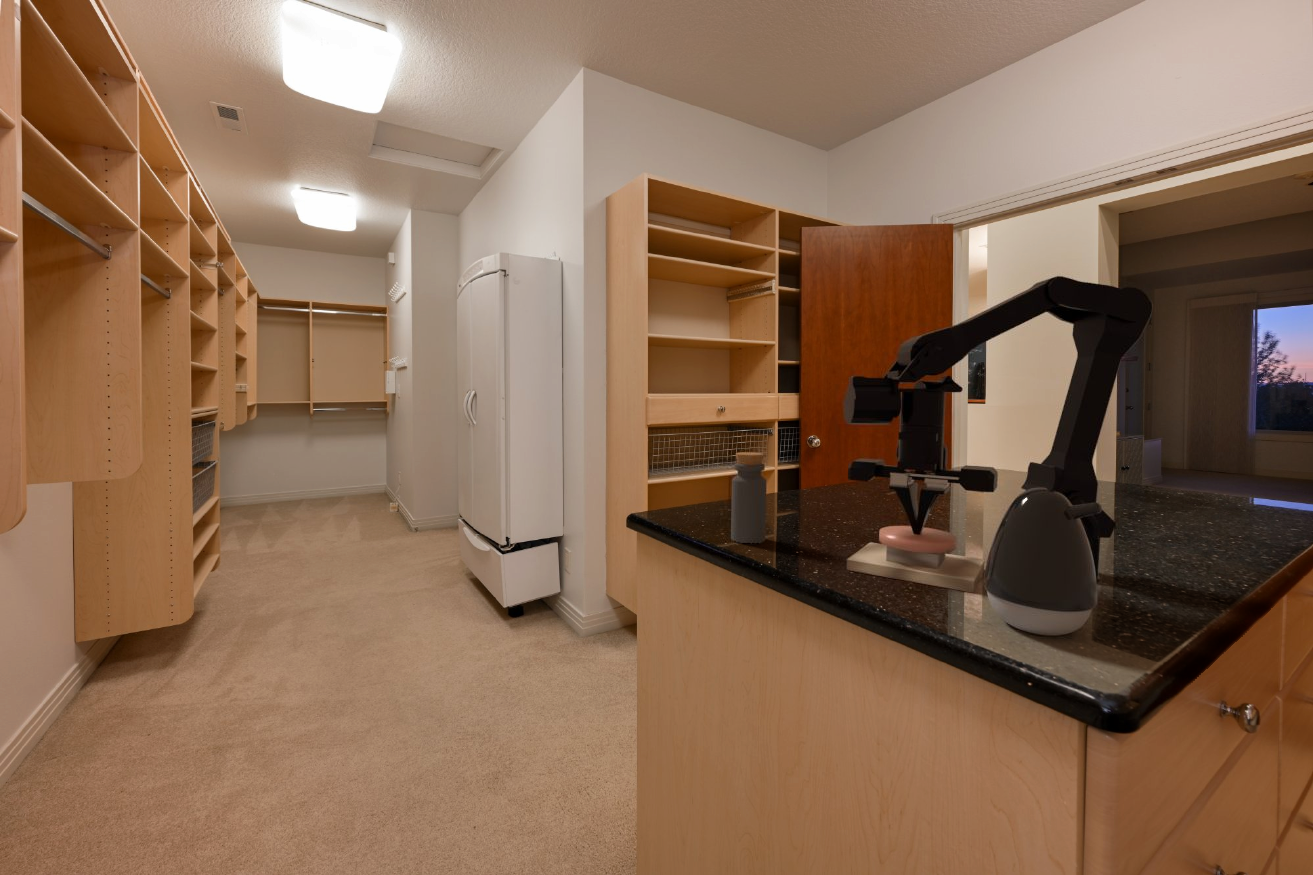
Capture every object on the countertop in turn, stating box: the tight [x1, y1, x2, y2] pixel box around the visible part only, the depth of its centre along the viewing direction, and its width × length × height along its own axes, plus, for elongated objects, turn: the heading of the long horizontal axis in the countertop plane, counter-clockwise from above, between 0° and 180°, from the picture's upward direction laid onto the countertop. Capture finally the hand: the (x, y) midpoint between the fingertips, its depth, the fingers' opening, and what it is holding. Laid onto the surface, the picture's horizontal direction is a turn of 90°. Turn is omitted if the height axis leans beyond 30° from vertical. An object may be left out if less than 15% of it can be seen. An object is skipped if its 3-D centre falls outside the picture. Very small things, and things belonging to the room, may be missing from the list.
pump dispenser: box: [983, 488, 1103, 636], centre depth 62 cm, size 10×10×15 cm
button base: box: [846, 542, 986, 593], centre depth 82 cm, size 16×12×4 cm
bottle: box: [730, 451, 767, 545], centre depth 98 cm, size 6×6×15 cm
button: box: [878, 525, 957, 553], centre depth 82 cm, size 10×10×3 cm
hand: (917, 533), depth 82 cm, fingers closed, pressing on button
